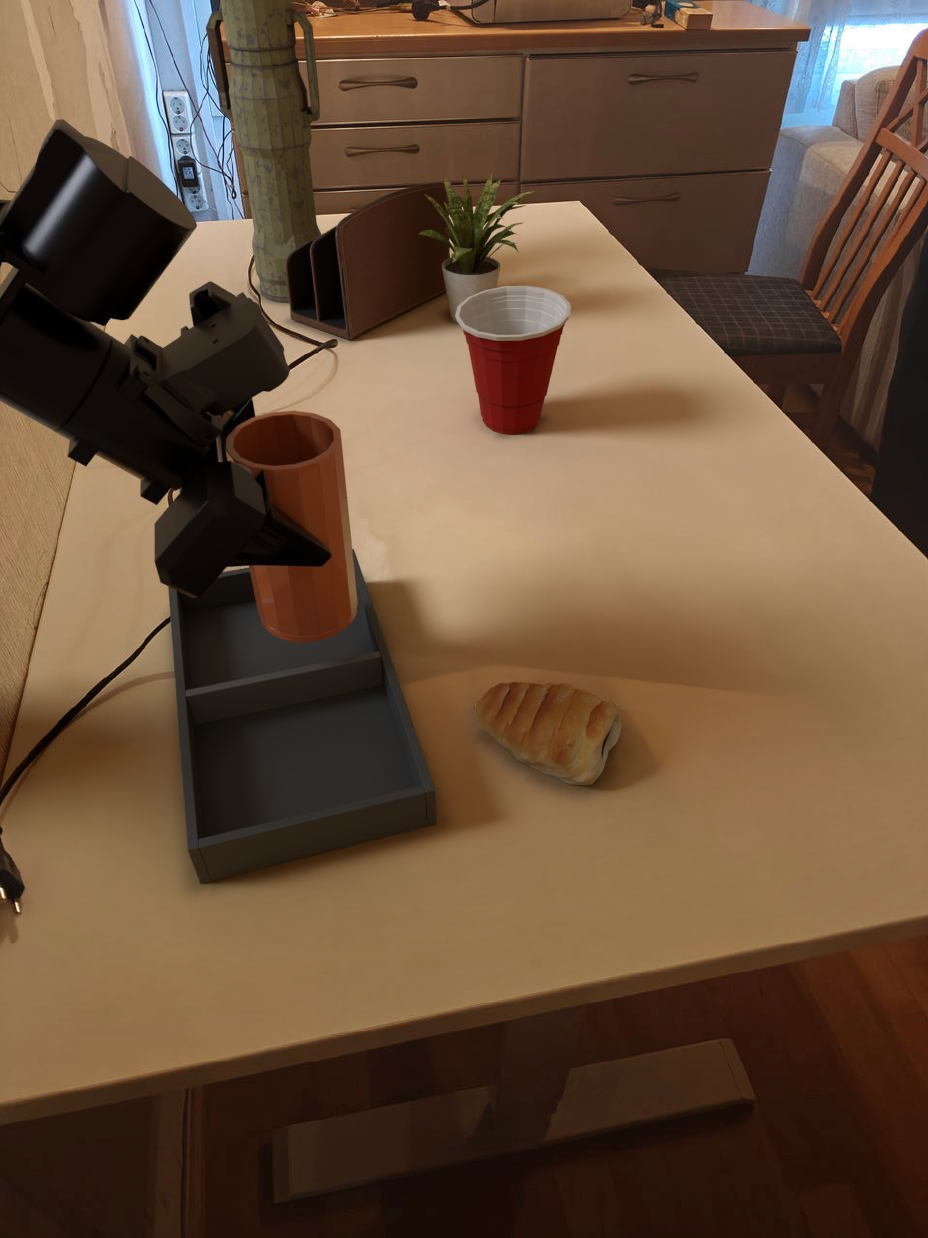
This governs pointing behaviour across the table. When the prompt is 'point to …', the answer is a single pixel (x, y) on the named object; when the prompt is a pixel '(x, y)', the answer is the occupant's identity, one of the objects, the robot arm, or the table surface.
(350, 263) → the letter holder
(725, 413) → the table surface
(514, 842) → the table surface
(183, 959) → the table surface
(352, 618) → the cup
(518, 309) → the plastic cup
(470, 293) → the house plant
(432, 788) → the tray
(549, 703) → the pastry
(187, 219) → the robot arm
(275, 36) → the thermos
